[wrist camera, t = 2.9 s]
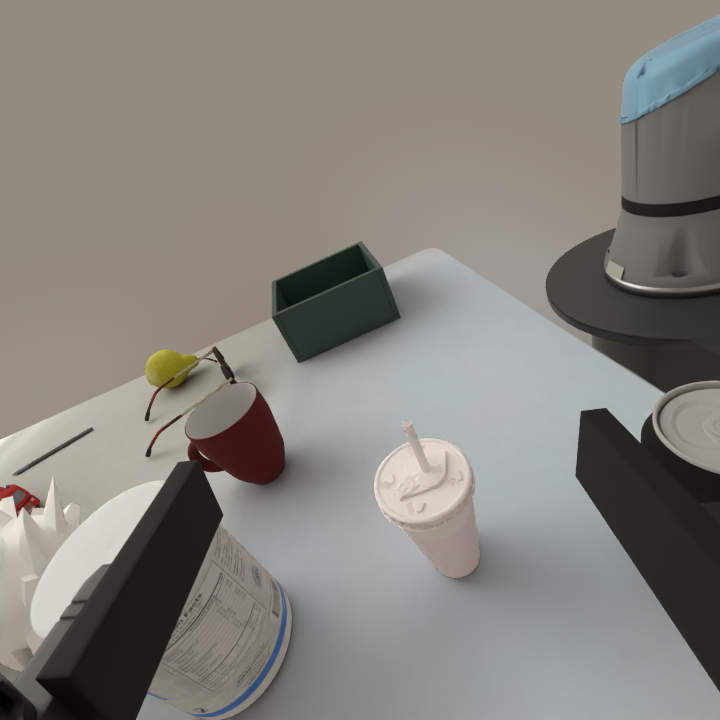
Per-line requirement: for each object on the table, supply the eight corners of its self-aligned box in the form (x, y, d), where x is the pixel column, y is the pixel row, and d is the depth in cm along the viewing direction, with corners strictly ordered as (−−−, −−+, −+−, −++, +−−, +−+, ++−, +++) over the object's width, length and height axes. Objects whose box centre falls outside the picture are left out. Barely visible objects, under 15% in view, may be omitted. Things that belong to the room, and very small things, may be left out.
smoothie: (518, 551, 28) (480, 418, 21) (457, 620, 26) (391, 500, 19) (453, 499, 33) (404, 378, 26) (398, 554, 31) (328, 439, 24)
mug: (213, 522, 41) (153, 464, 36) (220, 467, 48) (170, 411, 43) (304, 482, 41) (256, 416, 36) (298, 432, 48) (257, 371, 43)
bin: (377, 284, 74) (361, 241, 69) (400, 317, 61) (382, 267, 56) (293, 321, 75) (271, 281, 70) (298, 363, 61) (271, 317, 57)
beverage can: (640, 495, 28) (645, 370, 22) (770, 522, 24) (824, 380, 18) (633, 585, 24) (637, 465, 18) (787, 635, 20) (864, 504, 14)
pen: (90, 427, 69) (10, 474, 66) (92, 430, 70) (13, 477, 66) (91, 426, 70) (13, 472, 67) (94, 429, 70) (15, 475, 67)
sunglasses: (248, 399, 58) (228, 375, 55) (152, 468, 55) (126, 446, 52) (231, 365, 69) (213, 344, 66) (150, 421, 66) (128, 401, 63)
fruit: (134, 351, 67) (205, 329, 71) (145, 366, 73) (209, 345, 77) (146, 386, 65) (218, 361, 69) (156, 399, 71) (222, 375, 75)
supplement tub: (162, 679, 30) (2, 595, 22) (242, 562, 36) (137, 463, 28) (239, 760, 25) (60, 685, 17) (320, 606, 30) (215, 496, 22)
